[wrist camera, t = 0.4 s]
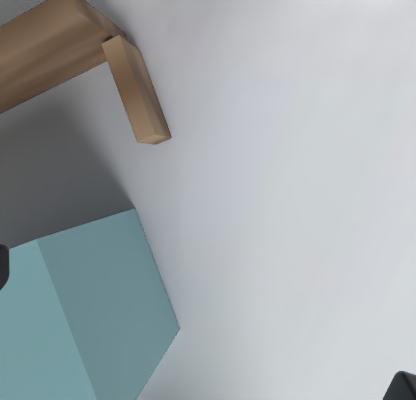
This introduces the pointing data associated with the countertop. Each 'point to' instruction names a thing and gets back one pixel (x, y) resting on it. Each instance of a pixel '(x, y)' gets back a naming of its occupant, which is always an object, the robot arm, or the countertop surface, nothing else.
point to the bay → (76, 61)
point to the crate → (84, 314)
